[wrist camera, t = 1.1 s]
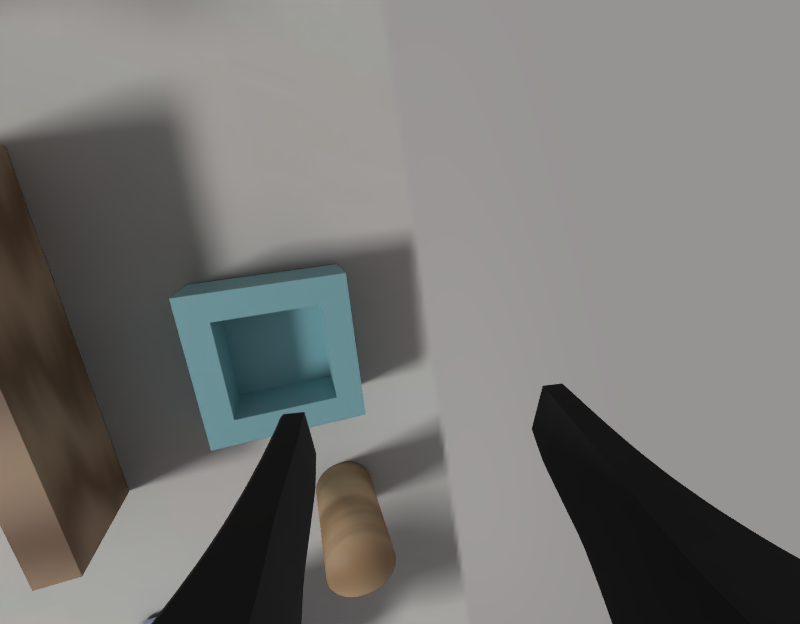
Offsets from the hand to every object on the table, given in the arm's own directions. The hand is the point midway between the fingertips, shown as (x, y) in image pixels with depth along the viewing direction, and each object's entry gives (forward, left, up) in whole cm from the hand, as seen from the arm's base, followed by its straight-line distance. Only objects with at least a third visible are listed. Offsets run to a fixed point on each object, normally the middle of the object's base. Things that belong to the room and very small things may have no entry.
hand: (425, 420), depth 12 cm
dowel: (-13, +2, -14) cm, 20 cm away
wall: (+1, +16, -14) cm, 22 cm away
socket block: (-1, +5, -14) cm, 15 cm away
